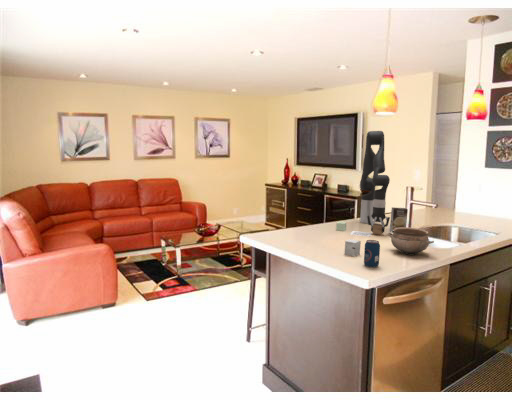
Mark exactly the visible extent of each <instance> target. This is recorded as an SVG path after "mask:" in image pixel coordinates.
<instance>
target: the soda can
mask: <svg viewBox="0 0 512 400" xmlns="http://www.w3.org/2000/svg"><path fill="white" fill-rule="evenodd" d="M364 243H365V244H364V253H363V255H364V256H363V263H364V266H365V267H367V268H373V269H374V268H377V267H378V266H379V264H380V252H381V249H380V248H381V244H380V241H378V240H374V239H367V240H366V241H365V242H364Z"/></svg>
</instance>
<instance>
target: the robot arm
mask: <svg viewBox="0 0 512 400" xmlns="http://www.w3.org/2000/svg"><path fill="white" fill-rule="evenodd" d="M365 137H366V138H365V151H364V158H363V163H362V164H363V165H362V173H361V178H360V182H359V183H360V184H359V188H360V190H361V191H369V192H368V193H365V194H362V196H361V200H360V201H361V202H360V215H359V216H360V218H359V219H360V220H359V222H360V223H361V224H368V225H369V226H370V231H371V233H373V225H374V224H376V223H380V224H382V234H383V233H384V232H385V228H387V227H388V225H389V224H390V223H389V222H390V220H391V216H386V196H387V190H388V187H389V186H390V185H389V184H390V181H391V180H390V177H389V175H386V174H383V173H385V172H386V165H385V133H384V132H383V131H382V130H371V131H367V134H366V136H365ZM372 146H379V147H378V150H377V152H376V153H375V152H374V150H373V148H372ZM372 173H373V174H372ZM371 174H372V177H369V176H370V175H371ZM376 187H381V188H379V189H376ZM384 220H385V221H386V223H385V222H384Z"/></svg>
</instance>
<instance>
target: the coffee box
mask: <svg viewBox="0 0 512 400" xmlns="http://www.w3.org/2000/svg"><path fill="white" fill-rule="evenodd" d="M408 213H409V212H408V208H405V207H393V206H392V207H391V212H390V221H389V222H390V223H389V231H390V232H391V231H393V229H394V228H399V227H407V221H408Z"/></svg>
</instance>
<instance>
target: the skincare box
mask: <svg viewBox="0 0 512 400" xmlns="http://www.w3.org/2000/svg"><path fill="white" fill-rule="evenodd" d="M361 242H362V241H361V240H357V239H353V238H352V239H351V238H350V239H347V240H345V241H344V243H345V244H344V255H347V256H349V257H357V256H359V255H360V254H361V244H362V243H361Z"/></svg>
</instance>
